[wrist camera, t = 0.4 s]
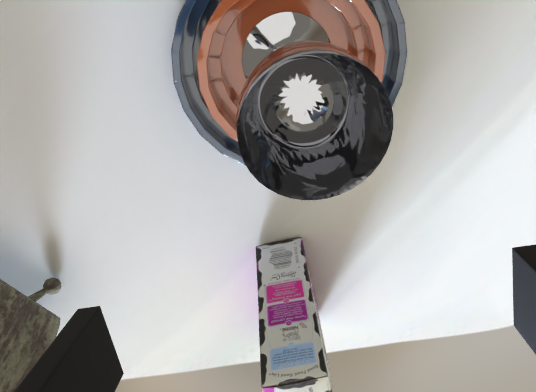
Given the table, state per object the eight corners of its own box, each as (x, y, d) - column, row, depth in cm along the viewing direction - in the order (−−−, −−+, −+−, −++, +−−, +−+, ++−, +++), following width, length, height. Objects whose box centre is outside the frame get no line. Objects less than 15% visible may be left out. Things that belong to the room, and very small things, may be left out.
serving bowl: (203, -103, 31) (200, -105, 29) (431, -24, 34) (447, -20, 32) (159, 129, 39) (153, 144, 37) (347, 175, 42) (355, 191, 40)
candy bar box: (251, 245, 46) (258, 387, 32) (301, 234, 45) (331, 374, 31) (274, 325, 51) (288, 477, 37) (318, 316, 51) (350, 466, 37)
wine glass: (318, -13, 34) (368, 23, 21) (350, 85, 38) (410, 168, 25) (219, 31, 35) (209, 92, 22) (260, 122, 39) (272, 220, 26)
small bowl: (224, -63, 32) (222, -61, 29) (397, -5, 35) (415, 2, 31) (185, 114, 39) (181, 133, 35) (335, 152, 41) (344, 172, 38)
